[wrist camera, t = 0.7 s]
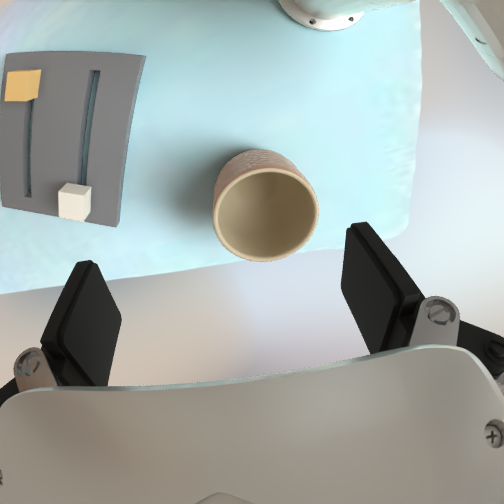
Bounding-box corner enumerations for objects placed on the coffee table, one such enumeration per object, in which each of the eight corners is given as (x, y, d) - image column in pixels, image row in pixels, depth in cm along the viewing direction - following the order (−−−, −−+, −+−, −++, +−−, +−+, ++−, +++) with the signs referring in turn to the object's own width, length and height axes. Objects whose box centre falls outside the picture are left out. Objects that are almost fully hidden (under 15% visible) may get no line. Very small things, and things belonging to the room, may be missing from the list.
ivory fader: (73, 176, 39) (58, 191, 34) (96, 180, 40) (83, 195, 35) (72, 200, 41) (58, 217, 37) (95, 204, 42) (83, 221, 38)
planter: (221, 226, 47) (223, 270, 38) (205, 149, 40) (201, 178, 31) (300, 212, 48) (320, 253, 39) (294, 135, 40) (317, 159, 31)
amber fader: (28, 68, 28) (7, 72, 24) (49, 68, 29) (30, 71, 25) (24, 94, 30) (4, 101, 26) (45, 94, 31) (26, 101, 27)
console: (13, 53, 26) (6, 54, 25) (146, 56, 32) (142, 55, 30) (8, 201, 39) (2, 206, 38) (119, 220, 45) (116, 227, 43)
